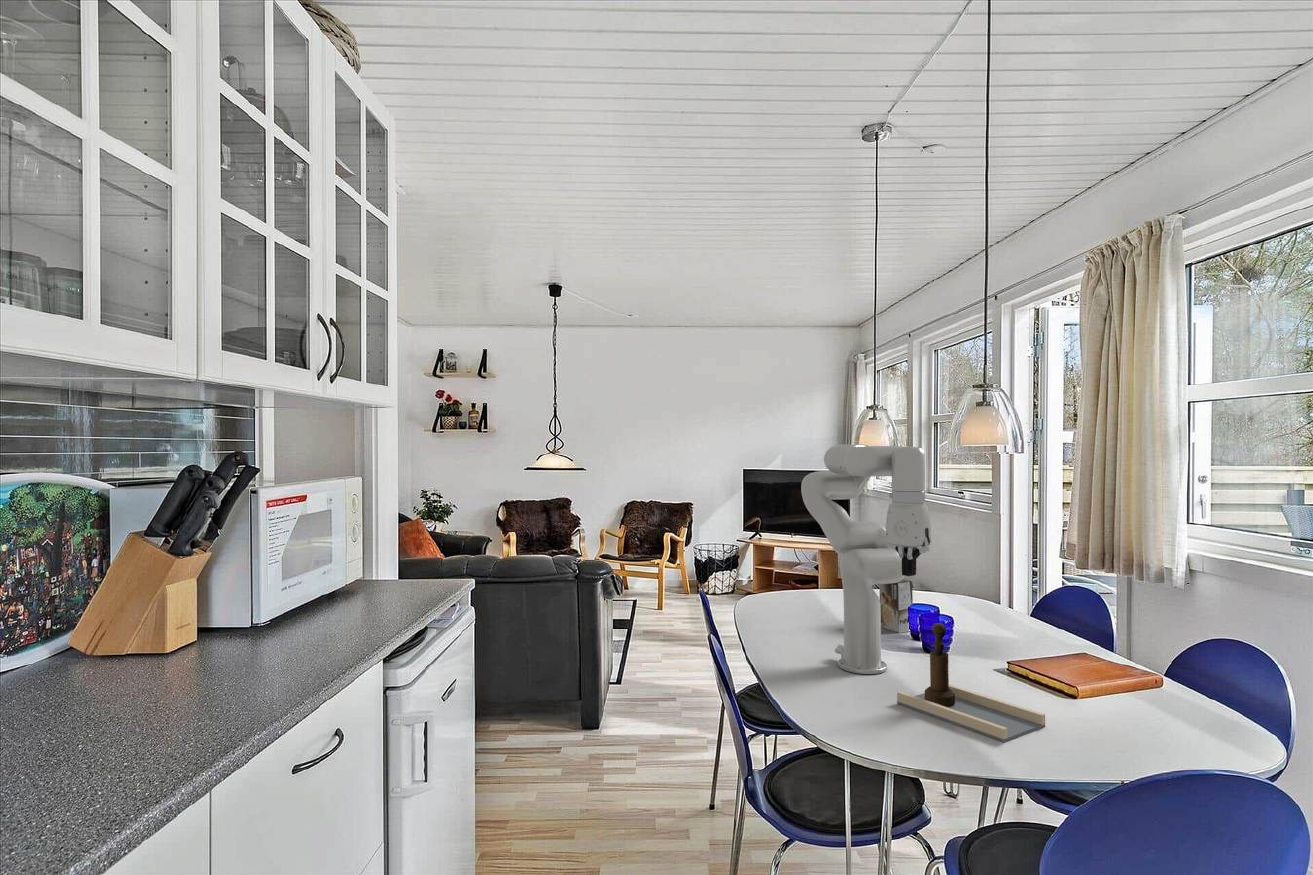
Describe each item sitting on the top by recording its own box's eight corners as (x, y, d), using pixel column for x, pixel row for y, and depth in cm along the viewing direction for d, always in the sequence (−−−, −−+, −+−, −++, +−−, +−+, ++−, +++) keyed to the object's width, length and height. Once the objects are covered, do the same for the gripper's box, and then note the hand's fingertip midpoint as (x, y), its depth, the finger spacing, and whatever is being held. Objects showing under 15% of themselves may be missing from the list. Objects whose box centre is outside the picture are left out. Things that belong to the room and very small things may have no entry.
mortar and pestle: (918, 699, 167) (917, 621, 168) (940, 695, 170) (940, 618, 170) (938, 708, 161) (938, 627, 161) (961, 705, 163) (961, 625, 164)
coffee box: (914, 631, 231) (913, 581, 231) (898, 633, 228) (898, 582, 229) (893, 624, 240) (893, 576, 240) (878, 626, 237) (878, 577, 237)
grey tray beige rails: (897, 703, 166) (897, 692, 166) (938, 691, 174) (938, 680, 174) (1004, 742, 144) (1003, 729, 144) (1045, 726, 152) (1045, 714, 152)
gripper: (872, 497, 177) (873, 572, 177) (925, 501, 164) (925, 581, 164) (893, 496, 181) (893, 569, 181) (945, 499, 169) (946, 578, 168)
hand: (909, 575), depth 172 cm, fingers closed
